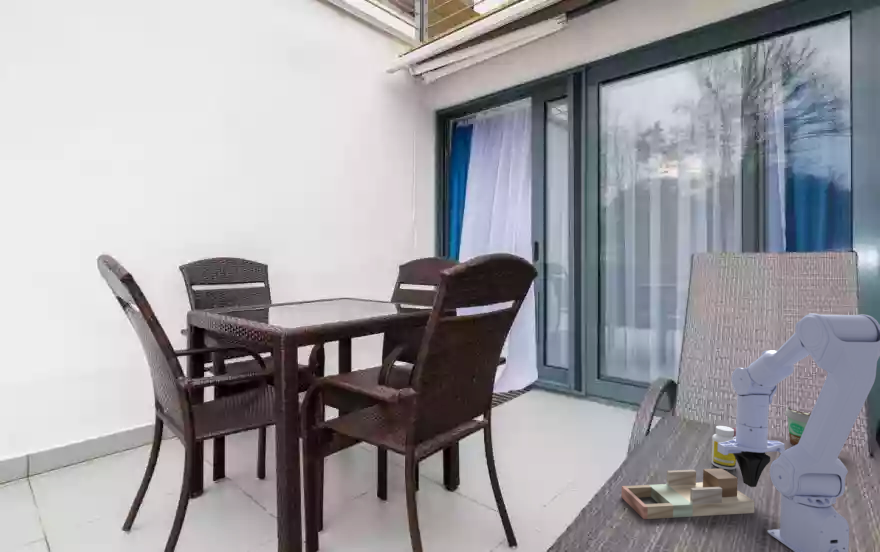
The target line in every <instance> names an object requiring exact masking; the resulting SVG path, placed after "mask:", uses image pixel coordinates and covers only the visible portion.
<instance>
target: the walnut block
mask: <svg viewBox="0 0 880 552" xmlns="http://www.w3.org/2000/svg"><path fill="white" fill-rule="evenodd" d="M738 480H739V479H738V477H737V476H735V475H733V474H732V473H730V472H728V471H727V470H726V469H722V468H704V469H703V470H702V482H703V487H721V488H722V497H737V490H738V482H739V481H738Z"/></svg>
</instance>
